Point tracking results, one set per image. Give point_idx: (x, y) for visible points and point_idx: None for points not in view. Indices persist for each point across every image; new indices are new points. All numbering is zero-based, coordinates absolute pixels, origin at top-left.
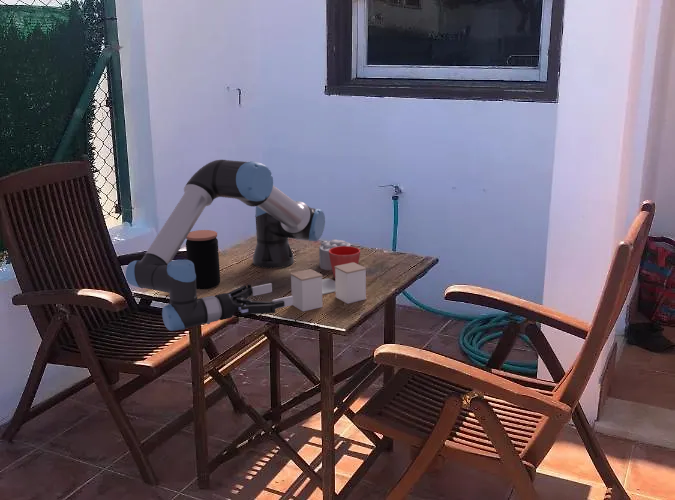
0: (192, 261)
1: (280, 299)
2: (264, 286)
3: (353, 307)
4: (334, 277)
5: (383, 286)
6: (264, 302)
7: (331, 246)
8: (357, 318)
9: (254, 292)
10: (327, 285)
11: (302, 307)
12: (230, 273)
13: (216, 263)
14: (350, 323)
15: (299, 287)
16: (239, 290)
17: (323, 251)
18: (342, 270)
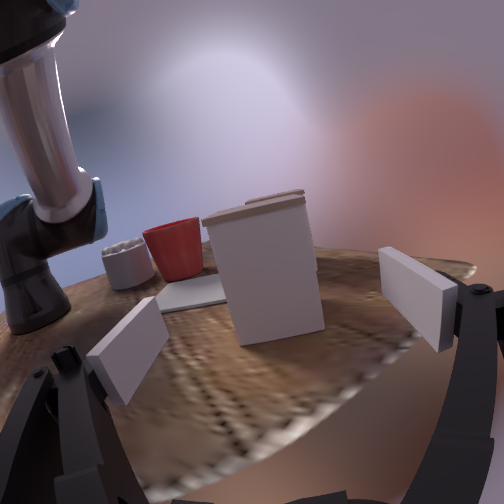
0: None
1: (426, 269)
2: (139, 321)
3: (345, 264)
4: (173, 280)
5: None
6: (491, 323)
7: (126, 243)
8: (413, 258)
9: (120, 381)
10: (197, 285)
11: (320, 316)
12: None
13: None
14: (442, 262)
15: (287, 245)
16: (31, 421)
17: (119, 254)
18: (283, 194)
